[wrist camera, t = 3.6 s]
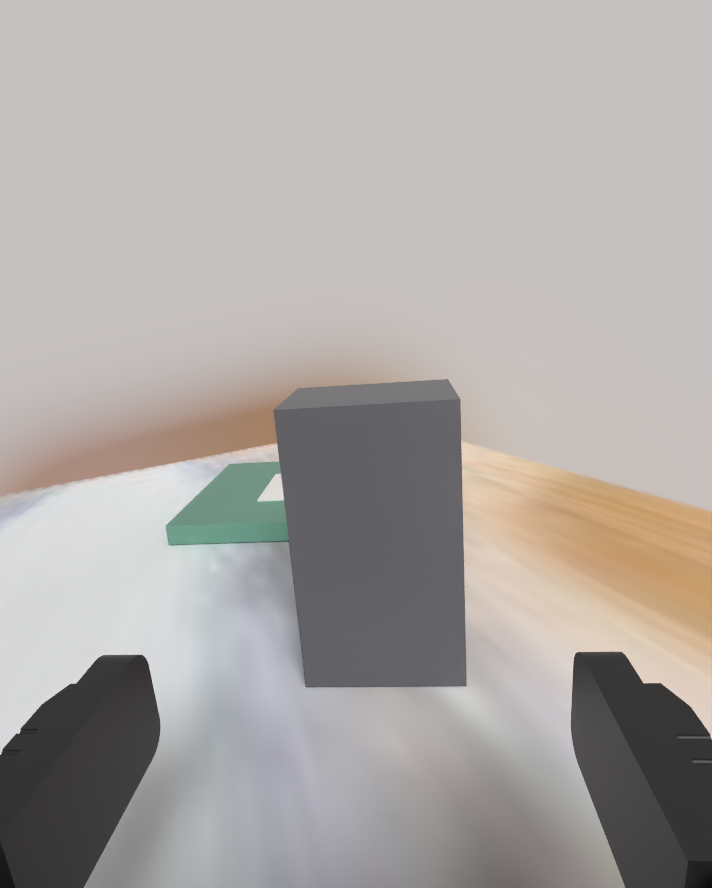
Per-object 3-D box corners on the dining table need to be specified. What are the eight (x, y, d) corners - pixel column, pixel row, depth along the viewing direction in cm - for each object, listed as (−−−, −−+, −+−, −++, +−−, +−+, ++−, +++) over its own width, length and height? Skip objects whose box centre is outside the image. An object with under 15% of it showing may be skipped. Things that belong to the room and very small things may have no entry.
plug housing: (305, 687, 18) (273, 410, 16) (321, 620, 22) (298, 388, 20) (466, 685, 18) (460, 399, 15) (454, 617, 22) (447, 379, 19)
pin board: (168, 544, 31) (158, 485, 30) (231, 478, 42) (225, 434, 41) (442, 535, 29) (440, 473, 28) (430, 469, 41) (428, 423, 40)
